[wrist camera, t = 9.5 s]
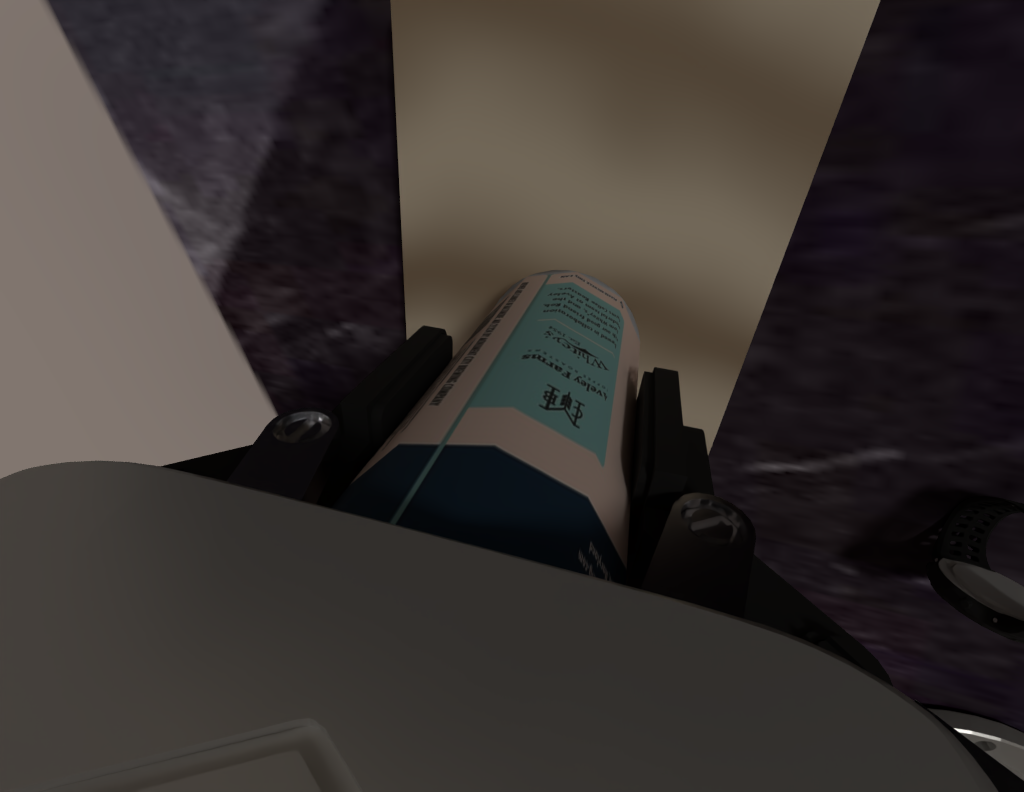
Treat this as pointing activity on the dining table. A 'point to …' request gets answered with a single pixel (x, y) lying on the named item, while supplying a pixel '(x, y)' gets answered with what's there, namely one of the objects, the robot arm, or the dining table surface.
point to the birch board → (616, 160)
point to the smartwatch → (977, 569)
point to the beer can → (523, 433)
